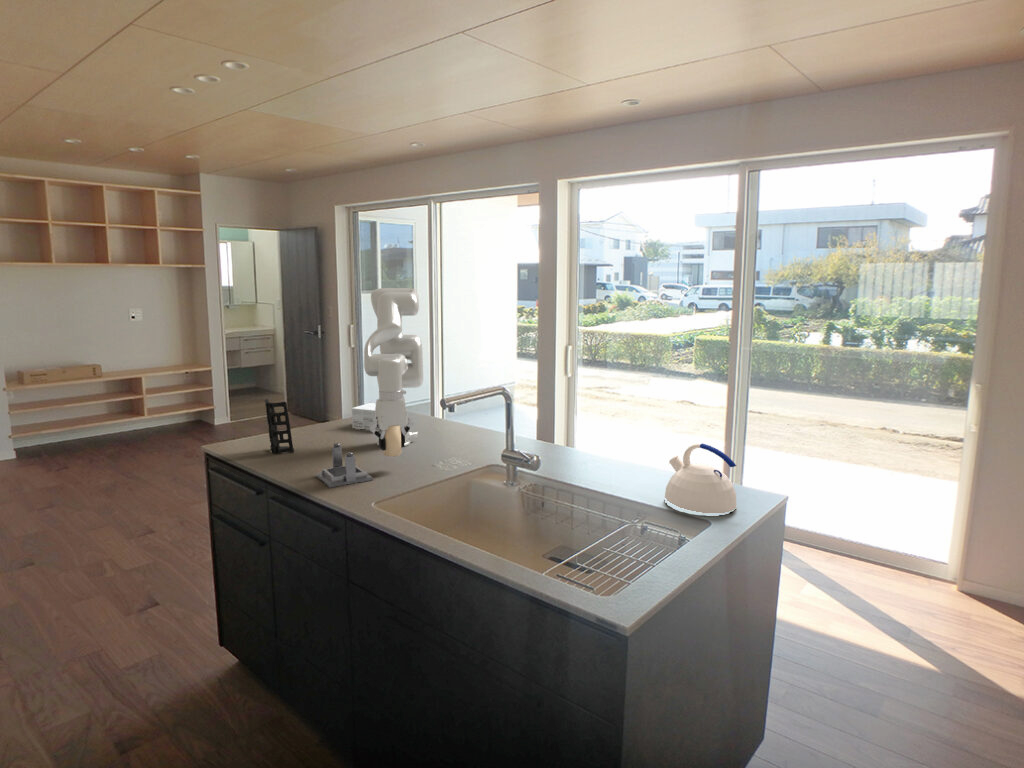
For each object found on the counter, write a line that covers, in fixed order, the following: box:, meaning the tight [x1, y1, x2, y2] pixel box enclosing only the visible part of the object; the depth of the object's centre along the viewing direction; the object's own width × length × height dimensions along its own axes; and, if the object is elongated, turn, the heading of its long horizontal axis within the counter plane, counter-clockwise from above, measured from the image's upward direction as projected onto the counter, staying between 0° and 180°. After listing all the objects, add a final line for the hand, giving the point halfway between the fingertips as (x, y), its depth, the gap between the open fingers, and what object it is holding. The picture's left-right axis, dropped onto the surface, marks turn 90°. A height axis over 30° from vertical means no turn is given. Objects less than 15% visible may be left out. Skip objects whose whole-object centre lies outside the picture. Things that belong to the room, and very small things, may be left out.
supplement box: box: [351, 402, 379, 431], centre depth 276 cm, size 17×13×9 cm
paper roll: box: [382, 425, 402, 457], centre depth 213 cm, size 6×6×10 cm
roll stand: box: [315, 442, 374, 489], centre depth 206 cm, size 14×15×10 cm
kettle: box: [664, 443, 737, 513], centre depth 183 cm, size 20×21×18 cm
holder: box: [264, 398, 295, 455], centre depth 235 cm, size 11×8×20 cm
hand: (392, 447), depth 213 cm, fingers closed on paper roll, 6 cm apart
